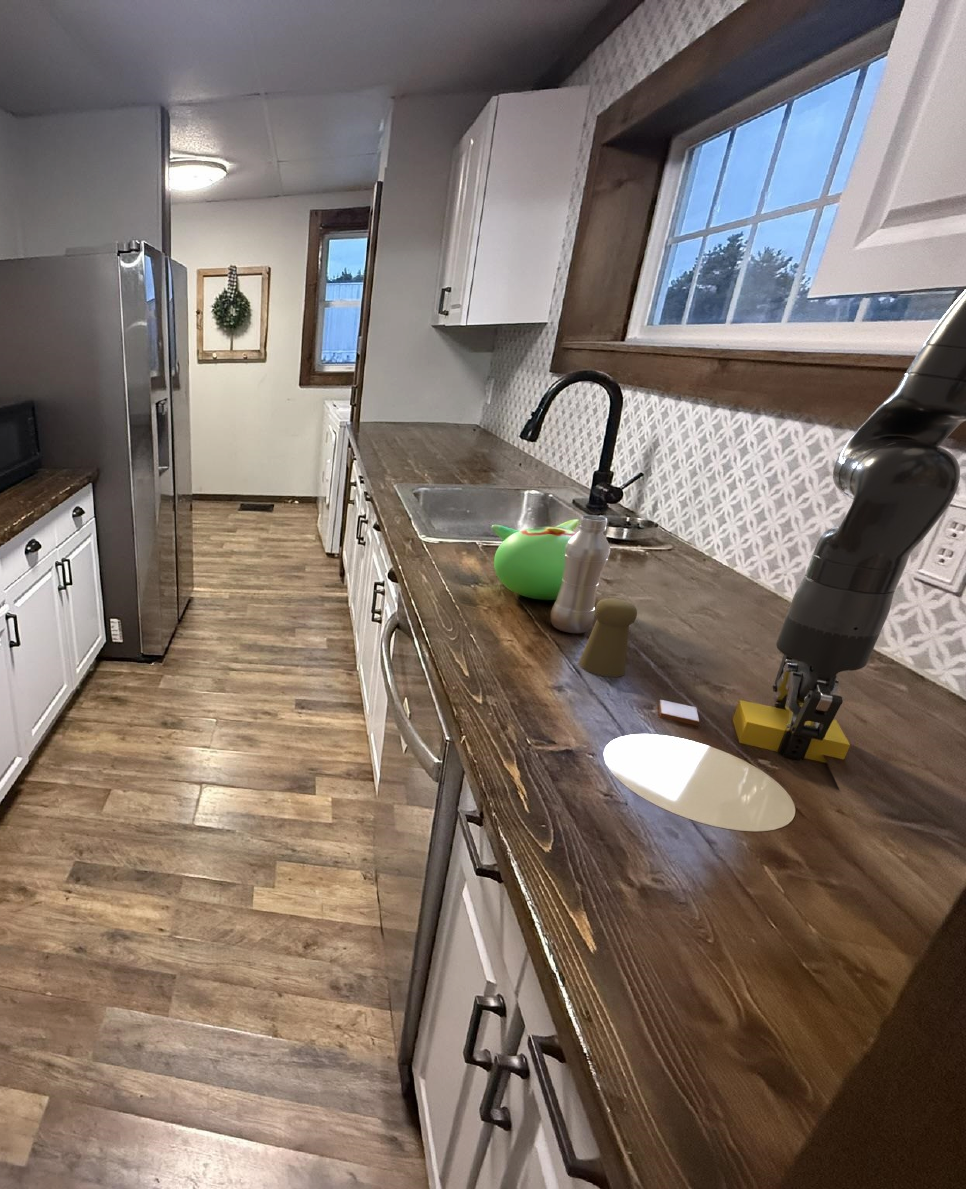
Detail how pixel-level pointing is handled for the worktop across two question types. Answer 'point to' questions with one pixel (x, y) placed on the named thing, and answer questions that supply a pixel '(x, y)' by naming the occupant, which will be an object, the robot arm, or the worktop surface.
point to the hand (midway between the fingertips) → (782, 744)
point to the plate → (699, 782)
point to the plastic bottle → (581, 576)
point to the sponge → (783, 731)
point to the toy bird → (533, 559)
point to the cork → (609, 638)
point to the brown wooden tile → (678, 712)
